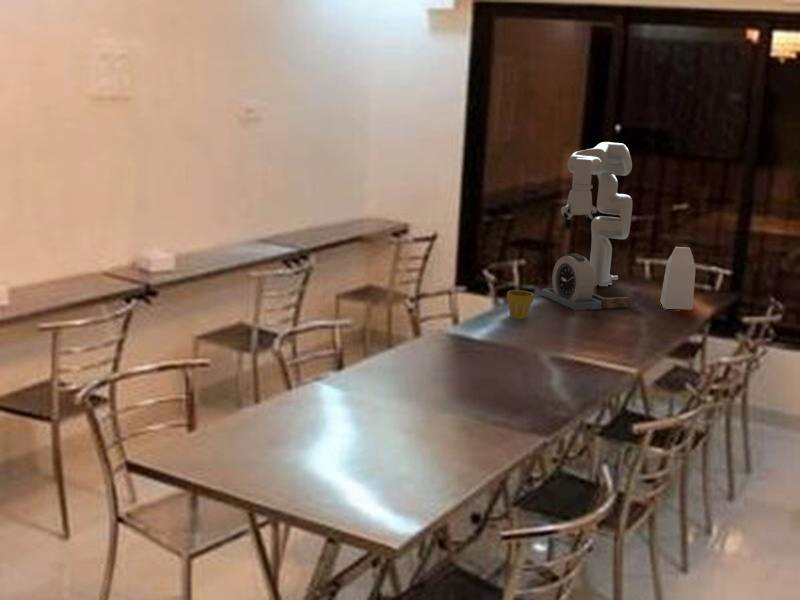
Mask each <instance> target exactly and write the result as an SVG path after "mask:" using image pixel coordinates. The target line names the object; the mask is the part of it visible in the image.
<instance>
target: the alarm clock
mask: <svg viewBox="0 0 800 600" xmlns="http://www.w3.org/2000/svg"><path fill="white" fill-rule="evenodd" d="M551 277H552V278H551V279H552V280H551V282H552V289H553V290H554V293H555V294H557V295H560V296H562V297H564V298H567V299H569V300H571V301H574V302H576V303H578V302H589V300H590V299H591V297H592V294H593V291H594V284H595V279H594V272H593V269H592V266H591V264H590V260H589V259H587V257H585V256H583V255H581V254H578V253H567V254H565V256H564V255H563V256H562V257H560V258H558V260H557V261H556V263H555V265H554V267H553V270H552V276H551Z"/></svg>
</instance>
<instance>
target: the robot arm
mask: <svg viewBox="0 0 800 600" xmlns="http://www.w3.org/2000/svg"><path fill="white" fill-rule="evenodd" d="M630 154H631V153H630V151H629V149H628V147H627V146H626V144H624V143H619V142H610V141H603V142H600V143H598V144H596V146H594V147H593V148H587V149H582V150H579V151H575V152H573V153H572V154H571V155H570V156H569V158H568V160H567V169H568V171H569V172H570V173H572V174H573V175H572V185H571V186H572V187H571V189H570V191H569V192H568V193H569V194H568V197H567V201H566V205H565V206H563V207H561V208H560V211H561V214H562V216H563V218H564V219H565V220H564V228H565V229H567V230H571V228H572V227H571V225H572V217H573V216H585V217H586V218H585V220H584V221H585V222H584V228H586V229H590V231H591V247H590V257H589V262H590V264H591V266H592V269H593V272H594V279H595V284H594V285H599V286H598V287H609V286H608V285H611V286H612V285H613V282H612V281H613V280H615V281H616V280H619V276H618V275H612V274H611V273H610V272H611V263H612V253H613V247H612V246H613V245H612V244H611V241H610V239H615V240H626V239H627V238H628V237H629V234H630V230H631V229H630V228H631V223H632V213H633V212H632V211H633V199H632V197H631V196H630V195H628V194H624V193H618V187H619V181H618V179H617V177H616V176H628V175H629V174H631V172H632V168H633V162H632V157H631V155H630ZM592 175H594V176H597V179H598V191H597V199H596V200H597V201H596V206H594V205H593V199H592V198H593V196H592V191H591V189H593V184H592ZM597 212H598V213H601V214H607V215H615V216H617V215H618V216H619V217H613V216H606V215H605V216H604V215H599V216H598V215H597V216H596V213H597Z"/></svg>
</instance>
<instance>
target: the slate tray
mask: <svg viewBox="0 0 800 600" xmlns="http://www.w3.org/2000/svg"><path fill="white" fill-rule="evenodd" d="M541 296H542V297H543V296H546V297H548V298H550V299H552V300H551V301H553V300H554V301H553V302H555V301H556V302H555V303H557V302H559V303H561V304H560V305H562V304H563V305H562V306H564V305H565V306H564V307H566V306H567V307H566V308H568V307H570V308H569V309H571V308H572V309H571V310H573V309H574V310H573V311H585V309H590V310H600V309H601V310H602V308H601V307H602V302H601V301H598V300H596V299H594V298H591V299H590V300H589V302H578V303H576V302H574V301H571V300H569V299H567V298H564V297H562V296H560V295H557V294H555V293H554V290H553V288H542V289H541ZM546 297H545V298H546ZM548 298H547V299H548ZM550 299H549V300H550ZM559 303H558V304H559Z"/></svg>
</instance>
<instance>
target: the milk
mask: <svg viewBox="0 0 800 600" xmlns="http://www.w3.org/2000/svg"><path fill="white" fill-rule="evenodd" d="M695 263H696V262H695V259H694V256H693V252H692V249H691V248H690V247H685V246H684V247H683V246H682V247H681V246H675V247H674V248H673V251H672V253H671V254H670V256H669V258H668V259H667V261H666V263H665V264H666V265H665V272H664V277H663V283H662V290H661V294H660V301H659V302H661V304H662V306H663V307H662V306H661V307H662V309H663V308H665V309H664V310H666V309H694V296H695V295H694V294H695V283H696V282H695V281H696V280H695V279H696V264H695ZM661 304H660V305H661Z"/></svg>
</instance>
